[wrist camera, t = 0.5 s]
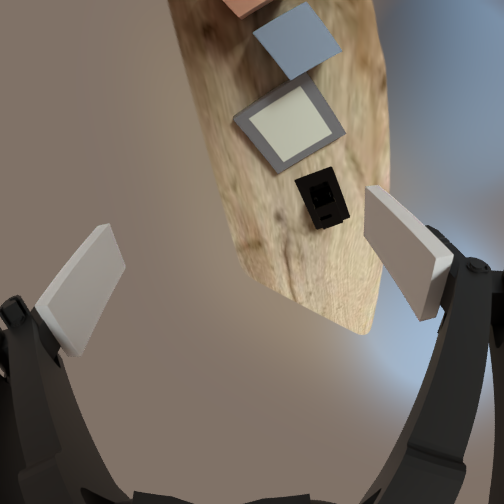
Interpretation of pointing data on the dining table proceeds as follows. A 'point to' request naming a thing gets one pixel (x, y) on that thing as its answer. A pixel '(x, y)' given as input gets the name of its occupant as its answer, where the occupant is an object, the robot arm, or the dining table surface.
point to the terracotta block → (245, 6)
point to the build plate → (323, 198)
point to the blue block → (297, 40)
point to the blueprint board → (290, 122)
